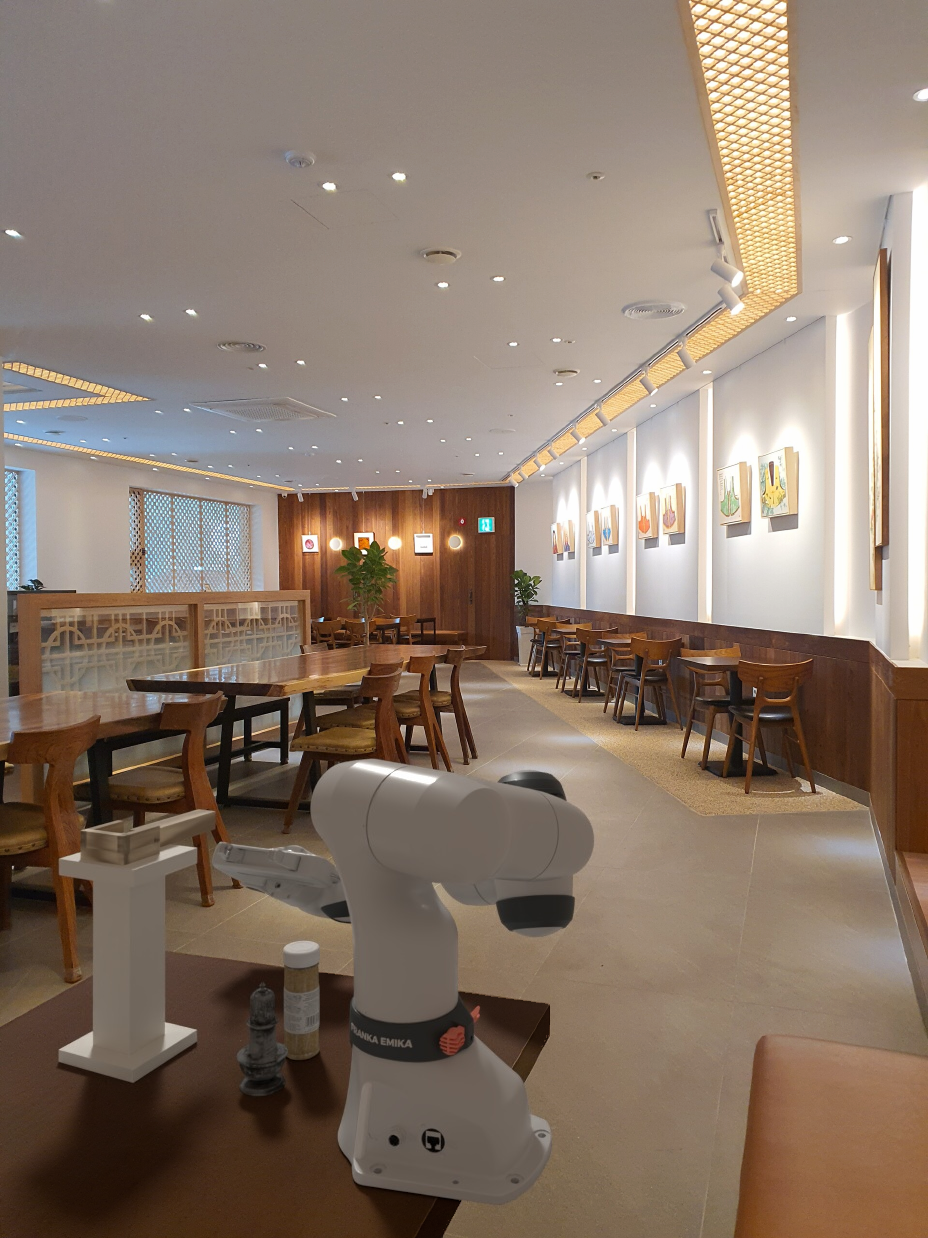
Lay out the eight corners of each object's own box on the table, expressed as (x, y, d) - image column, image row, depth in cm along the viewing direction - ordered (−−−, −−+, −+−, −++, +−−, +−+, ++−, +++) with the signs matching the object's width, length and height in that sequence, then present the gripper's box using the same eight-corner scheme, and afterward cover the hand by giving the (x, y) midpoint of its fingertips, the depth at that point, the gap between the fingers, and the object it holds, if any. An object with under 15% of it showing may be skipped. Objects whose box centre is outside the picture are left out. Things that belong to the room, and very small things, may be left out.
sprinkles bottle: (308, 1040, 113) (308, 936, 113) (326, 1054, 110) (326, 947, 110) (276, 1051, 110) (276, 945, 110) (293, 1066, 107) (293, 956, 107)
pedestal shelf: (196, 1041, 113) (197, 847, 113) (133, 1083, 103) (133, 870, 103) (126, 1024, 118) (126, 838, 118) (58, 1062, 108) (58, 858, 108)
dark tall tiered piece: (275, 1100, 99) (275, 994, 99) (227, 1094, 100) (227, 990, 100) (295, 1074, 105) (295, 974, 105) (250, 1068, 106) (250, 970, 106)
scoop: (226, 830, 122) (226, 805, 122) (123, 865, 105) (123, 836, 105) (187, 825, 125) (187, 801, 125) (80, 859, 108) (80, 830, 108)
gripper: (342, 903, 137) (298, 880, 126) (236, 886, 145) (186, 864, 134) (353, 862, 140) (310, 837, 129) (248, 849, 148) (200, 823, 137)
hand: (246, 850), depth 132 cm, fingers open, 8 cm apart
